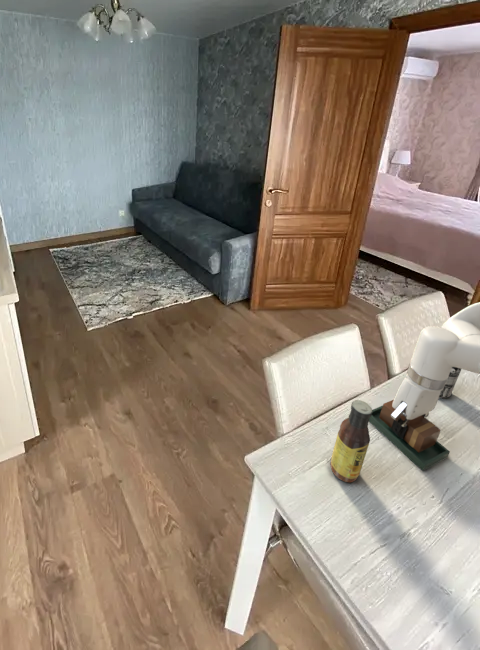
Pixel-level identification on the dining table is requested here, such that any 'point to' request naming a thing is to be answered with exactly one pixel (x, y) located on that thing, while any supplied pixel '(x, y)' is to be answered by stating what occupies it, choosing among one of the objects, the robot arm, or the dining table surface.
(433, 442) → the walnut box
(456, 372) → the beverage can
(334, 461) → the sauce bottle
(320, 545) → the dining table surface
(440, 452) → the tray
